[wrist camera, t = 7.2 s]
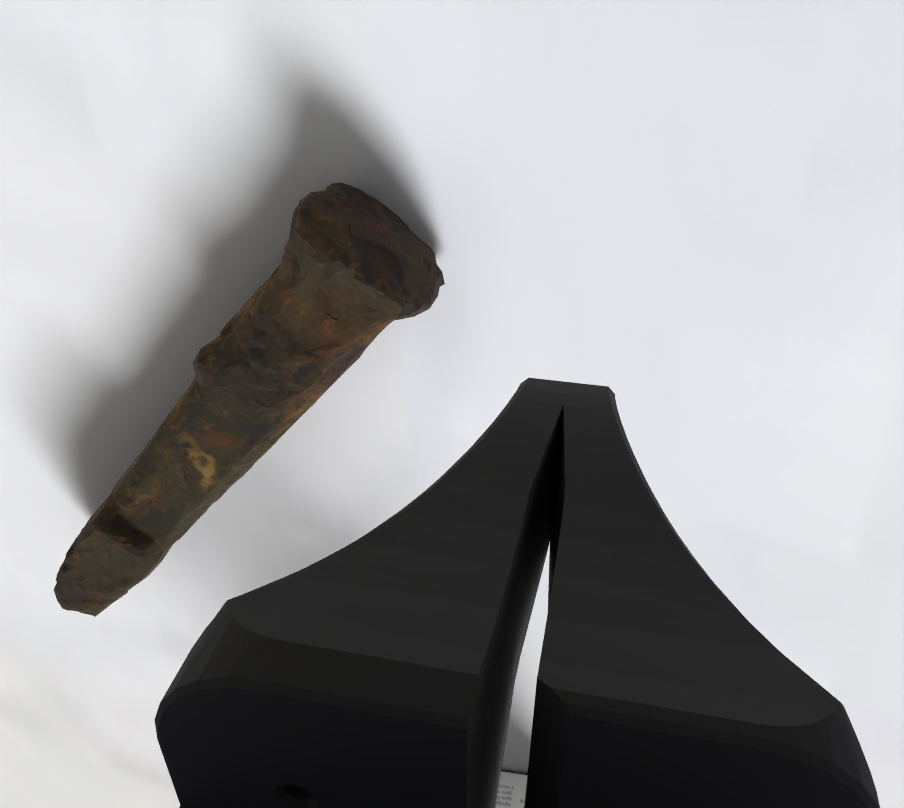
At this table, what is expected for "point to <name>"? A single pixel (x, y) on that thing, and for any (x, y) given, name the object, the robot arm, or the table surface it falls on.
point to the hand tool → (255, 383)
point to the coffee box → (511, 790)
